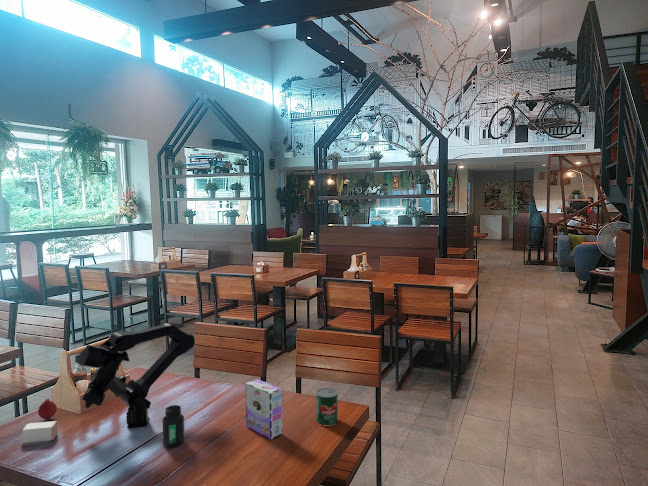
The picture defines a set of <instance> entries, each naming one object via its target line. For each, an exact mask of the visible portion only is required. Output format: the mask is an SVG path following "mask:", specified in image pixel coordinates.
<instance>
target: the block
mask: <svg viewBox="0 0 648 486" xmlns="http://www.w3.org/2000/svg"><path fill="white" fill-rule="evenodd" d="M58 428H59V427H58V420H52V421H42V422H30V423H27V424H26V425H25V426H24V428H23V429H22V434H21V435H22V444H23V443H29V442H39V441H49V440H51V441H53V440H54V439H55V438H56V437H57V435H58V433H59V432H58V431H59V430H58Z"/></svg>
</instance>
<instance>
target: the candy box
mask: <svg viewBox="0 0 648 486" xmlns="http://www.w3.org/2000/svg"><path fill="white" fill-rule="evenodd" d="M283 411H284V409H283V388H281V387H279V386H277V385H274V384H271V383H269V382H266V381H264V380H261V379H259V378H256V379H254V380H250V381H247V382H245V417H246V418H245V419H246V421H245V422H246V423H245V426H246V428H247V427H248V429H249V428H250V430H251V429H252V430H251V431H253V430H254V431H253V432H255V431H256V432H255V433H257V432H258V433H257V434H259V433H260V434H259V435H260V436H262V437H265V436H266V437H267V438H266V437H265V438H266V439H268V438H269V440H270V439H271V440H273V438H274V437H276V438H277V436H278V437H280V436H282V435H283V434H284V432H283V431H284V428H283V426H284V425H283V424H284V423H283V422H284V421H283V416H284V415H283ZM282 433H283V434H282ZM281 434H282V435H281ZM279 435H280V436H279ZM274 439H275V438H274Z"/></svg>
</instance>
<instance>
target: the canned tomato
mask: <svg viewBox="0 0 648 486" xmlns="http://www.w3.org/2000/svg"><path fill="white" fill-rule="evenodd" d="M315 394H316V395H315V399H316V400H315V410H316V411H315V418H316V419H315V422H316V421H317V422H318V423H319V424H321V425H333V424H335V423H336V422H337V423H338V401H339V400H338V398H339V397H338V395H339V392H338V391H337V389H334V388H331V387H323V388H320V389H317V390H316V392H315ZM335 425H336V424H335ZM333 426H334V425H333Z"/></svg>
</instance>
